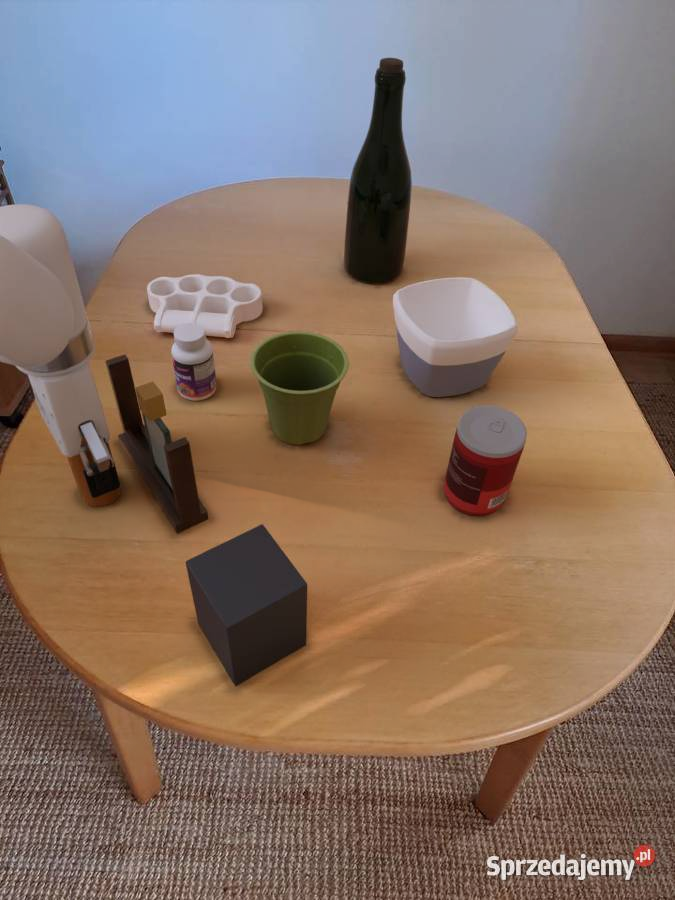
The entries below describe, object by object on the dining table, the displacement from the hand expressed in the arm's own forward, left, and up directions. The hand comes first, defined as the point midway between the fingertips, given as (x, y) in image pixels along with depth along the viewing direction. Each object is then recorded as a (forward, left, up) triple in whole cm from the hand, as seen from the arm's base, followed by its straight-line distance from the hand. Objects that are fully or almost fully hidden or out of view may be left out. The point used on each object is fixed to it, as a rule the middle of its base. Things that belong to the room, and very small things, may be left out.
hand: (90, 463), depth 76 cm
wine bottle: (+58, +24, -5) cm, 63 cm away
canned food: (+38, -24, -5) cm, 45 cm away
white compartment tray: (+27, +27, -5) cm, 39 cm away
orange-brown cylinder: (0, 0, -5) cm, 5 cm away
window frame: (+7, -2, -5) cm, 9 cm away
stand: (+6, -26, -5) cm, 27 cm away
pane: (+7, -4, -3) cm, 9 cm away
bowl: (+50, -4, -5) cm, 51 cm away
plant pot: (+26, -3, -5) cm, 27 cm away
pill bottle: (+18, +11, -5) cm, 22 cm away
